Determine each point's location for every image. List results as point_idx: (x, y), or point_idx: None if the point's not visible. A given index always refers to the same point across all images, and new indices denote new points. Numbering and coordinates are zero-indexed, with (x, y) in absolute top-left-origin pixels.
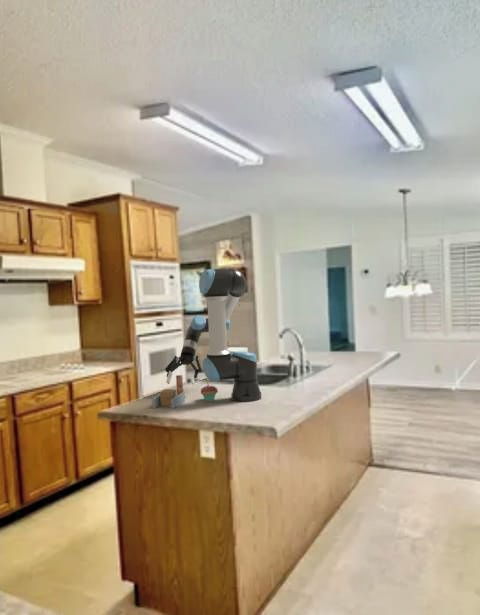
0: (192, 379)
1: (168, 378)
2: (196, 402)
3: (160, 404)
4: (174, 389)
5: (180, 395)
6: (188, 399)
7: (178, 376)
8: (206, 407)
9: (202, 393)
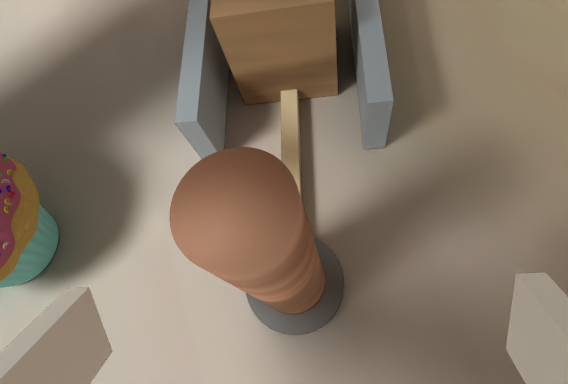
0: (45, 312)
1: (549, 319)
2: (111, 158)
3: (353, 46)
4: (228, 12)
5: (184, 46)
6: None
7: (228, 152)
8: (32, 62)
9: (18, 162)
